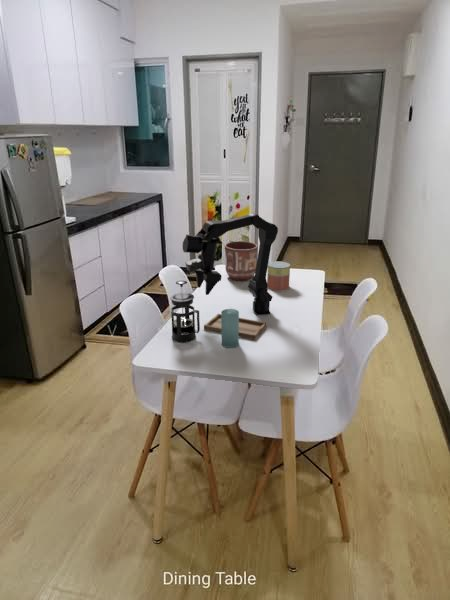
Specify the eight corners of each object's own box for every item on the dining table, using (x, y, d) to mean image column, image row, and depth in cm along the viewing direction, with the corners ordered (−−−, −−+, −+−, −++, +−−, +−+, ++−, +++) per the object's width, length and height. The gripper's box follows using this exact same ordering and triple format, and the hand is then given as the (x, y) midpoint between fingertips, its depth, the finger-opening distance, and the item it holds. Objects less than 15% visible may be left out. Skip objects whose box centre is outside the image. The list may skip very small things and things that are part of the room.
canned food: (276, 281, 229) (276, 260, 225) (293, 286, 222) (294, 264, 217) (262, 287, 222) (263, 264, 217) (280, 292, 214) (281, 269, 210)
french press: (166, 340, 167) (162, 284, 158) (175, 330, 175) (172, 276, 166) (195, 344, 164) (193, 287, 155) (203, 334, 172) (201, 279, 163)
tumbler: (236, 339, 168) (236, 308, 163) (240, 347, 162) (240, 315, 157) (219, 340, 166) (219, 309, 162) (223, 348, 160) (222, 316, 156)
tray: (218, 317, 187) (218, 313, 186) (266, 326, 178) (266, 322, 177) (204, 329, 176) (203, 325, 175) (254, 339, 167) (254, 335, 166)
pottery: (219, 280, 232) (219, 247, 225) (230, 270, 247) (230, 239, 240) (251, 284, 226) (252, 251, 219) (260, 274, 241) (261, 242, 234)
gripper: (181, 246, 176) (176, 283, 181) (197, 258, 161) (192, 298, 165) (206, 248, 181) (201, 284, 186) (224, 260, 165) (218, 298, 170)
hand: (202, 290), depth 177 cm, fingers open, 9 cm apart
